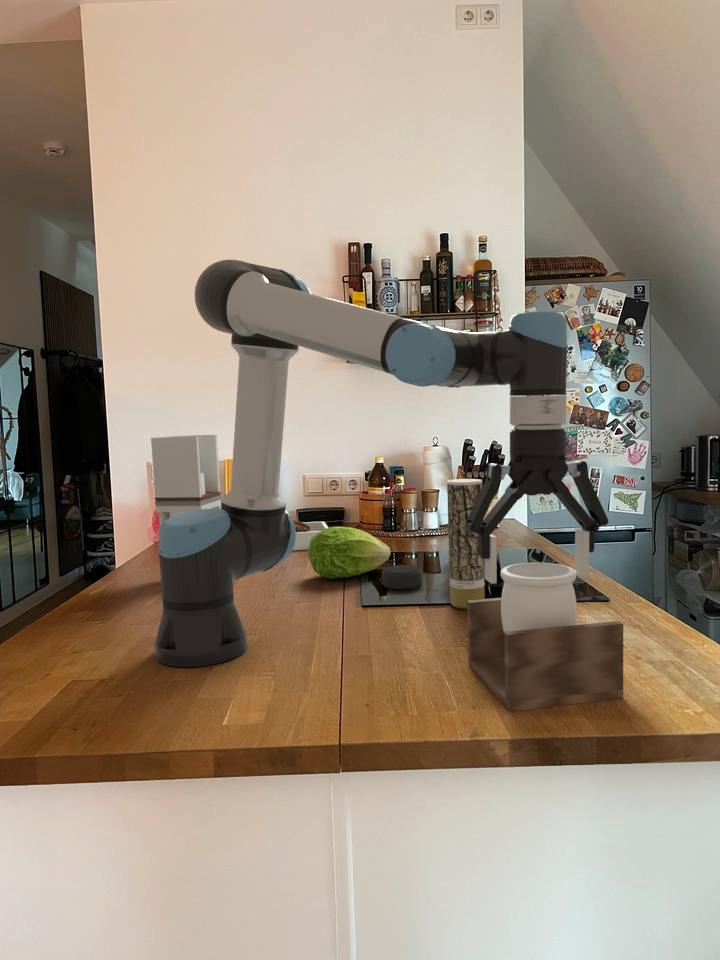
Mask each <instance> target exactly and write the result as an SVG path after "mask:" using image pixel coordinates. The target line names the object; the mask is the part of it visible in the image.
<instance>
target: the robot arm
mask: <svg viewBox="0 0 720 960" xmlns="http://www.w3.org/2000/svg"><path fill="white" fill-rule="evenodd" d="M194 302H195V306H196V309H197V311H198V313H199V316H200V317H201V318H202V319H203V321H204V322H205V323H206V324H207V325H208V326H209V327H210V328H213V329H215V330H217V331H218V332H221V333H226V334H230V335H231V339H230V341H231V342H230V345H231V347H232V349H233V350H235V352H236V353H237V356H238V357H239V358H238V373H237V387H236V388H237V389H236V403H235V404H236V405H235V417H234V419H235V420H234V431H233V432H234V434H233V435H234V436H233V449H232V451H233V452H232V464H231V465H232V466H231V481H230V482H231V483H230V490H229V491H228V492H227V493H226V494H225V495H224V496H222V497H221V509H201V510H196V511H189V512H185V513H181V514H178V515H175V516H173V517H170V518H168V519H167V520H165V521H164V522H163V523H162V524H161V526H160V525H159V528H158V544H157V553H158V556H159V557H158V559H159V570H160V585H161V584H162V587H161V597H162V614H161V617H160V622H159V626H158V629H157V634H156V637H155V641H154V655H155V656H154V657H155V660H156V661H157V662H158V663H160V664H163V665H165V666H169V667H175V668H176V667H179V668H194V667H195V668H197V667H205V666H206V667H207V666H210V665H211V666H212V665H216V664H220V663H224V662H227V661H230V660H233V659H235V658H237V657H239V656H241V655H242V654H243V653H245V652H246V650H247V649H248V639H247V638H248V637H247V636H248V635H247V632H246V629H245V627H244V625H243V622H242V620H241V617H240V614H239V612H238V610H237V607H236V603H235V596H234V595H235V594H234V581H235V580H239V579H242V578H245V577H248V576H251V575H254V574H258V573H260V572H267V571H269V570H272V569H273V568H274V567H276V566H278V565H280V564H282V563H284V562H285V560H287V558H288V557H289V556H290V555H291V553H292V552H293V551H292V549H293V547H294V543H295V538H296V531H295V525H294V522H293V521H294V520H293V521H291V519H292V516H291V514H290V513H289V511H287V510H286V507H287V501H286V500H285V499H284V498H283V497H282V495H280V493H279V489H280V479H281V478H280V477H281V466H282V465H281V463H282V462H281V461H282V453H283V452H282V451H283V439H284V438H283V437H284V426H285V425H284V424H285V415H286V414H285V412H286V400H287V388H288V375H289V374H288V373H289V363H290V360H291V359H292V358H293V357H294V356H295V355H296V354H298V352H299V347H301V348H306V349H307V350H312V351H315V352H319V353H321V354H324V355H328V356H330V357H334V358H337V359H341V360H344V361H347V362H350V363H352V364H353V363H354V364H357V365H360V366H361V365H362V366H364V367H366V368H369V369H370V368H371V369H374V370H376V371H379V372H384V373H386V374H389V375H392V376H394V377H395V379H397V380H399V381H400V382H403V383H405V384H408V385H412V386H417V387H422V388H423V387H431V386H437V387H441V388H442V387H446V388H456V389H457V388H461V387H483V386H497V385H499V386H506V385H509V424H510V425H511V426H513V429H510V430H511V431H509V462H508V464H507V465H504V464H503V465H501V464H498V463H493V462H491V463H488V465H487V466H486V467H487V468H486V477H485V481H484V483H483V484H482V489H481V491H480V493H479V495H478V497H477V499H476V502H475V504H474V506H473V508H472V510H471V512H470V514H469V516H468V519H467V521H466V523H465V528H466V529H468V530H469V531H471V532H473V533H477V534H478V554H479V556H480V557H481V558H482V559H484V580H486V581H487V582H488V583H490V584H491V585H492V584H497V574H498V573H497V569H498V567H497V563H498V562H497V559H498V558H497V557H498V556H497V555H498V553H497V549H498V548H497V544H498V542H497V540H498V539H497V536H496V535H494V534H492V533H494V531H495V529H496V528H497V527H498V526H499V525H500V523H501V522H502V520H503V519H504V518H506V516H507V514H508V513H509V512H510V511H511V510H512V509H513V507H514V505H515V504H516V503H517V502H518V501H519V500H520V499H522V497H524V495H527V496H537V495H545V496H548V495H551V494H553V495H555V497H556V498H557V499H558V500H559V501H560V503H561V504H562V505H563V507H564V508H565V509H566V510H567V511H568V512H569V514H570V515H571V516H572V518H573V519H575V521H576V523H578V525H579V526H580V527H581V528H578V527H577V528H575V529H574V533H575V534H574V569H575V570H576V575H579V576H580V577H581V578H589V577H590V576H589V574H590V572H589V569H590V553H594V551H595V537H596V535H595V532H598V531H599V530H600V527H601V526H607V525H608V524H609V518H608V516H607V514H606V512H605V510H604V508H603V506H602V504H601V501H600V499H599V497H598V495H597V492H596V490H595V488H594V485H593V484H592V481H591V479H590V477H589V467H588V463H587V462H586V461H583V460H579V459H574V460H572V461H571V462H566V451H567V430H566V431H565V428H562V425H565V424H566V423H567V371H568V370H567V369H568V349H569V345H568V338H567V335H568V334H567V320H566V317H565V316H564V315H563V314H562V313H560V312H557V311H551V310H549V311H548V310H542V311H541V310H539V311H527V312H523V313H517V314H513V315H512V316H511V318H510V319H509V325H508V329H504V330H499V331H486V332H485V331H484V332H483V331H481V332H468V331H465V330H464V331H463V330H457V329H451V328H446V327H442V326H438V325H437V326H436V325H433V324H429V323H426V322H421V321H417V320H413V319H408V318H404V317H401V316H397V315H394V314H389V313H386V312H382V311H378V310H375V309H371V308H367V307H364V306H363V307H362V306H360V305H355V304H352V303H348V302H345V301H340V300H337V299H333V298H330V297H329V298H328V297H325V296H321V295H318V294H314V293H312V292H311V290H310V289H309V287H308V286H307V284H306V283H305V282H304V281H303V280H302V279H301V278H300V277H299V276H296V275H295V274H294V273H293V274H292V273H289V272H288V271H286V270H284V269H279V268H276V267H275V268H274V267H269V266H264V265H260V264H256V263H255V264H254V263H249V262H246V261H242V260H238V259H223V260H219V261H216V262H213V263H212V264H211V265H209V266H207V267H206V268H205V269H204V270H203V271H202V272H201V274H200V276H199V277H198V279H197V281H196V284H195V288H194ZM567 474H569V476H570V477H572V479H573V482H574V485H576V488H577V491H578V493H579V495H580V497H581V499H582V502H583V503H584V506H585V508H586V510H585V509H584V507H583V506H582V505H581V504H580V503H579V501H577V499H576V498H575V497H574V495H573V494H572V493H571V491H570V489H569V488H568V487H567V485H566V484H565V483H564V481H563V480H564V478H565V477H566V475H567ZM506 475H508V476H509V478H510V479H511V482H510V483H509V484H508V486H507V487H506V488H505V490H504V493H503V494H502V496H501V497H500V498H499V499H498V500H497V502H496V503H495V505H494V506H493V507H492V508H491V510H490V511H489V508H490V507H491V504H492V502H493V500H494V498H495V495H496V493H497V491H498V489H499V487H500V484H501V481H503V480H504V479H505V476H506ZM488 511H489V512H488ZM587 512H588V513H587Z"/></svg>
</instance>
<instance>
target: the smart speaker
mask: <svg viewBox="0 0 720 960" xmlns="http://www.w3.org/2000/svg"><path fill="white" fill-rule="evenodd" d="M422 574H423V573H422V570H421V568H419V567H418V566H415V565H409V564H406V565H405V564H401V565H400V564H398V565H390V566H387V567H385V568H384V569H383V570H382V571H381V584H382V585H383V587H384V588H387V589H389V590H394V589H408V590H412V589H411V588H414V589H416V588H415V587H417V588H418V587H420V586H422V582H423V578H422V576H423V575H422Z"/></svg>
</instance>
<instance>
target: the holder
mask: <svg viewBox="0 0 720 960" xmlns="http://www.w3.org/2000/svg"><path fill="white" fill-rule="evenodd" d="M501 598H502V597H494V598H493V597H492V598H485V599H480V600H468V601H467V609H466V610H467V611H466V612H467V613H466V615H467V644H468V646H467V648H468V649H467V653H468V667H469V668H470V669H471V670H472V671H473V672H474V674H475V675H476V676H477V677H478V679H480V680H481V682H482V683H483V684H484V685H485V686H486V687H487V688H488V689H489V690H490V691H491V692H492V694H493V695H494V696H495V698H497V699H498V700H499V702H500V703H501V704H502V705H503V706H504V708H505V709H506V710H507V711H508V712H513V711H514V712H515V711H516V712H517V711H524V710H530V709H531V710H532V709H539V708H548V707H550V708H551V707H558V706H568V705H575V704H584V703H594V702H601V701H602V702H603V701H610V700H618V699H619V700H620V699H624V623H622V622H621V621H619V620H617V621H616V620H615V621H607V622H596V623H595V622H594V623H583V624H576V625H572V626H561V627H550V628H540V629H529V630H519V631H508V632H504V630H503V625H502V618H501Z"/></svg>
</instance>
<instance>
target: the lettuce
mask: <svg viewBox="0 0 720 960" xmlns="http://www.w3.org/2000/svg"><path fill="white" fill-rule="evenodd" d="M307 552H308V558H309V563H310V564H311V568H312V570H313V572H315V573H316V574H318V576H321V577H323V578H326V579H332V580H335V579H343V578H344V579H345V578H353V577H356V576H360V575H361V574H364V573H365V574H366V573H368V572H370V571H373V570H375V569H377V568H378V567H380V566H381V565H382V564H384V563H386V561H387V560H389V559H390V555H391V548H390V547H389V546H388V545H387V544H386V543H384V542H383V541H381V540H379V539H378V538H377V537H375V536H373V535H372V534H370V533H368V532H366V531H364V530H362V529H359V528H358V529H357V528H355V527H354V528H353V527H349V526H330V527H328V528H327V529H324V530H323V531H321V532H319V533H318V534H316V535H315V536H313V537H312V538H311V541H310V545H309V549H307Z"/></svg>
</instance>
